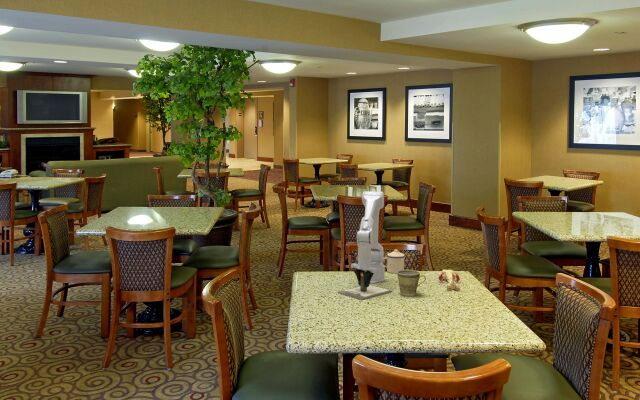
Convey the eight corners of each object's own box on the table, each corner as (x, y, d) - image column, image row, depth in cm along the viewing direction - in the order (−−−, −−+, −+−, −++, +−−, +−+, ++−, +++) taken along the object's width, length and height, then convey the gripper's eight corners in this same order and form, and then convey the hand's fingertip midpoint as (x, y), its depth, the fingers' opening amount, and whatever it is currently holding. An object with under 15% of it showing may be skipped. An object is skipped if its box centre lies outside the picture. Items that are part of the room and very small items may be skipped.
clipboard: (368, 285, 282) (368, 282, 282) (392, 291, 271) (392, 288, 271) (337, 293, 269) (337, 289, 269) (361, 300, 258) (362, 296, 258)
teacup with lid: (404, 270, 314) (405, 248, 312) (404, 274, 305) (404, 251, 303) (381, 269, 316) (381, 247, 314) (380, 273, 307) (380, 250, 305)
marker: (363, 289, 272) (363, 272, 271) (368, 290, 269) (368, 273, 268) (358, 290, 270) (359, 273, 269) (363, 291, 267) (364, 274, 266)
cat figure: (464, 294, 274) (456, 276, 298) (465, 276, 272) (457, 259, 296) (442, 293, 274) (436, 276, 299) (443, 275, 273) (437, 259, 297)
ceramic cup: (393, 295, 266) (394, 273, 265) (401, 290, 275) (401, 268, 273) (421, 299, 260) (422, 276, 259) (428, 293, 269) (429, 272, 267)
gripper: (346, 255, 270) (346, 284, 272) (370, 260, 260) (369, 291, 261) (357, 253, 275) (356, 282, 277) (381, 258, 265) (380, 288, 266)
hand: (363, 286), depth 269 cm, fingers closed on marker, 3 cm apart
